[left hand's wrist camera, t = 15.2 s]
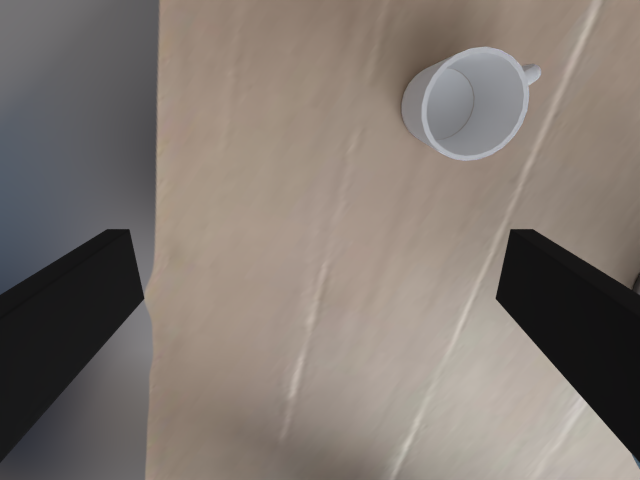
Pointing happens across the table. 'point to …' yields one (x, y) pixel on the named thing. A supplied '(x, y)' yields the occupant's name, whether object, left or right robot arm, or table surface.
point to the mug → (469, 102)
